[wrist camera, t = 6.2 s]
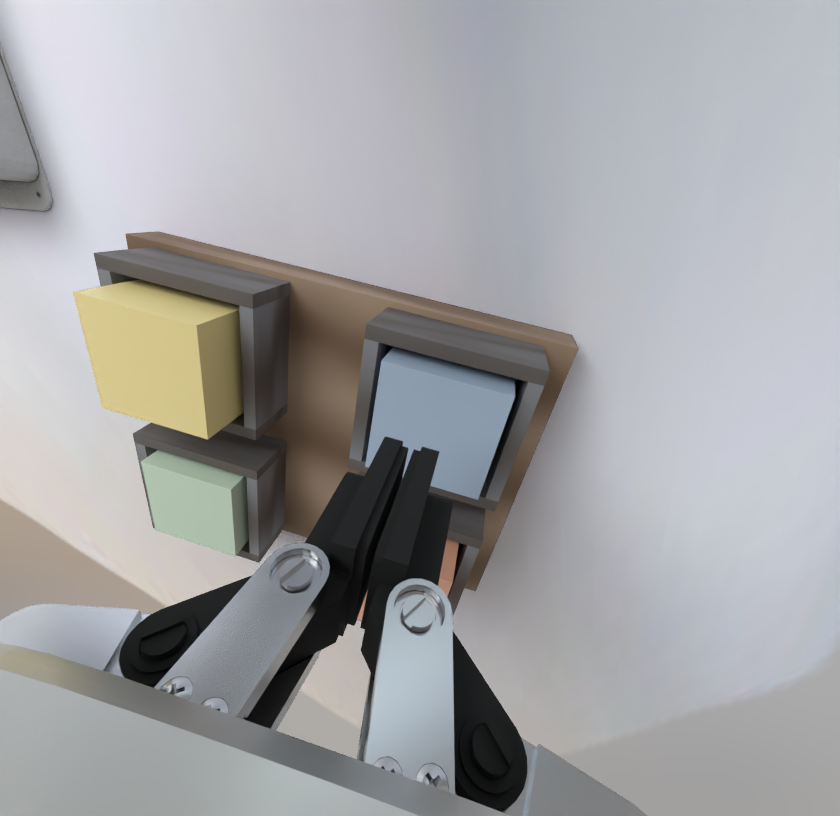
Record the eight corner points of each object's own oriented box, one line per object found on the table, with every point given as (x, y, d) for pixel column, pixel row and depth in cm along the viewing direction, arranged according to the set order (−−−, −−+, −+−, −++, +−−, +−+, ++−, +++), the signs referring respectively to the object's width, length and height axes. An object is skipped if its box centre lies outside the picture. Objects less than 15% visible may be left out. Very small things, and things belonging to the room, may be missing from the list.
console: (158, 231, 20) (62, 237, 16) (572, 335, 18) (590, 374, 14) (191, 476, 29) (134, 524, 24) (477, 566, 27) (471, 635, 22)
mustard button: (146, 277, 18) (73, 292, 15) (250, 305, 17) (196, 325, 14) (162, 378, 20) (102, 407, 17) (253, 404, 20) (207, 439, 17)
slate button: (403, 335, 18) (381, 360, 15) (514, 364, 17) (515, 396, 14) (386, 428, 20) (365, 466, 17) (482, 456, 20) (478, 499, 17)
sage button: (188, 429, 23) (140, 461, 20) (267, 453, 23) (230, 489, 20) (196, 493, 26) (155, 530, 23) (267, 515, 25) (235, 556, 22)
